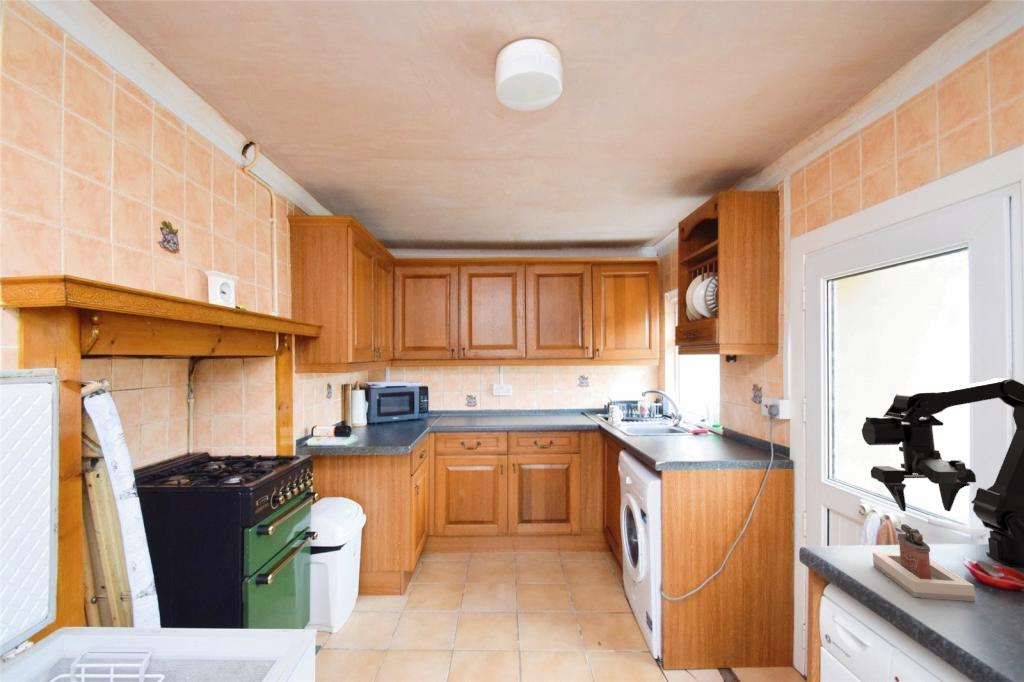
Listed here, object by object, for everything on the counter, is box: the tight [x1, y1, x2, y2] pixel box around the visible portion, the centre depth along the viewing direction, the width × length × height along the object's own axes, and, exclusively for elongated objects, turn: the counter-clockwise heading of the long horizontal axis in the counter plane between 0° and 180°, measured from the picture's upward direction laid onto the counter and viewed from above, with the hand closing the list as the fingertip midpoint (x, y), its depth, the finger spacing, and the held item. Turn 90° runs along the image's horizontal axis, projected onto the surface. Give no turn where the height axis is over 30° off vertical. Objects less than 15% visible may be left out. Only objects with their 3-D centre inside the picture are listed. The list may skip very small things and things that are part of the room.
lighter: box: [897, 523, 932, 580], centre depth 94 cm, size 8×3×10 cm, turn 164°
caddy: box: [872, 551, 976, 602], centre depth 94 cm, size 10×14×3 cm
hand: (925, 510), depth 105 cm, fingers open, 9 cm apart
